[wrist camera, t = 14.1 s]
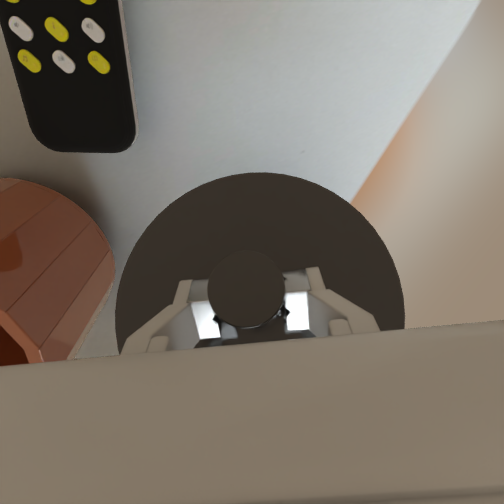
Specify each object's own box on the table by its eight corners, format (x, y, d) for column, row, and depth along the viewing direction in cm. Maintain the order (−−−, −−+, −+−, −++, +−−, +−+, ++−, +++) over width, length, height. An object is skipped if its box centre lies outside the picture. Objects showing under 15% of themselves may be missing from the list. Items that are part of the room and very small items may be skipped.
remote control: (48, 146, 22) (31, 154, 21) (-27, -133, 16) (-60, -155, 14) (144, 148, 23) (135, 156, 21) (107, -128, 16) (90, -150, 14)
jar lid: (324, 520, 15) (355, 640, 9) (74, 365, 17) (-34, 378, 11) (438, 247, 17) (521, 198, 11) (206, 145, 20) (175, 61, 14)
